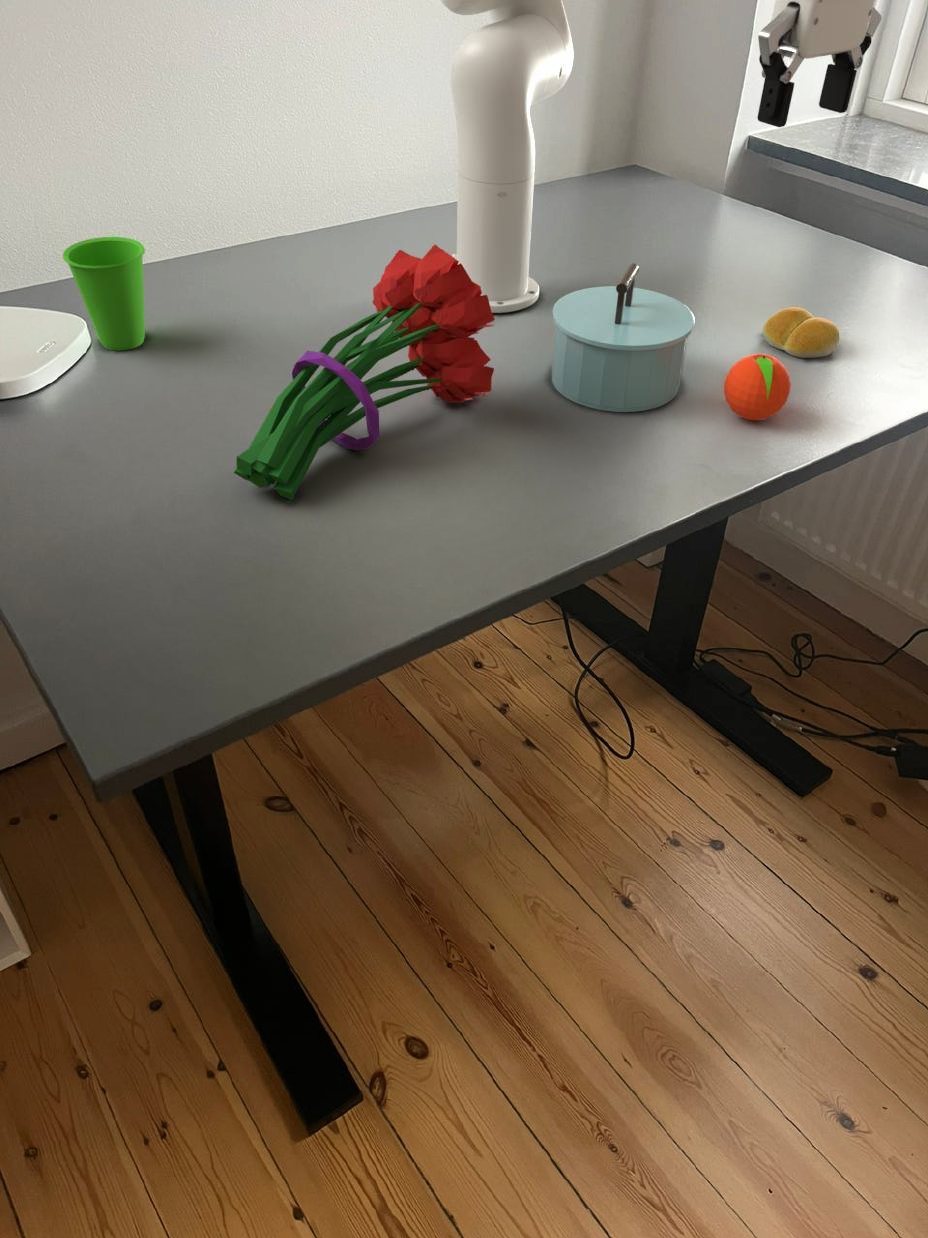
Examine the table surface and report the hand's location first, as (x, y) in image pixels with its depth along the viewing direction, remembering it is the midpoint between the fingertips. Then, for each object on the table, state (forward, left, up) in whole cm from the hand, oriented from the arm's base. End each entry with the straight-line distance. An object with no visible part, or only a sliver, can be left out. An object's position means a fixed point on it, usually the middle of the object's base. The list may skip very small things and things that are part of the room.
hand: (802, 116), depth 103 cm
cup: (-72, -23, -27) cm, 80 cm away
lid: (-14, -11, -20) cm, 26 cm away
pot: (-14, -11, -27) cm, 32 cm away
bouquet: (-35, -34, -27) cm, 56 cm away
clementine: (+2, -14, -27) cm, 31 cm away
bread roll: (+5, +7, -27) cm, 29 cm away
